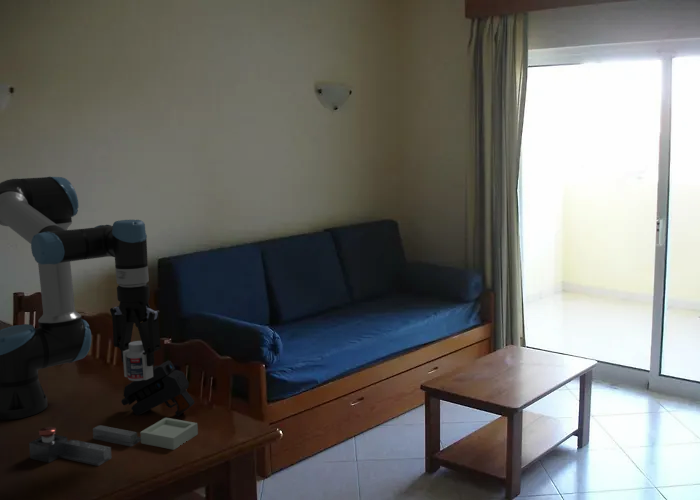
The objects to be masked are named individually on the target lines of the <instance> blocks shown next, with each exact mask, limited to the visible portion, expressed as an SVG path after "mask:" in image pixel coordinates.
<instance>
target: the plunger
mask: <svg viewBox="0 0 700 500" xmlns="http://www.w3.org/2000/svg"><path fill="white" fill-rule="evenodd" d="M56 433H57V428H56V427H55V426H47V427H42V428H40V429H39V430H38V435H39V436H40V437H42V443H46V444H49V443H51V442H53V441H55V438H54V434H55V435H56Z"/></svg>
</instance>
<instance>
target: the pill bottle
mask: <svg viewBox="0 0 700 500" xmlns="http://www.w3.org/2000/svg"><path fill="white" fill-rule="evenodd" d="M129 350H130V351H129V352H128V353H127V355H126V358H127V374H128V377H127V379H128V381H131V382H133V381H141V380H144V379H143V364H142V354H143V352H144V348H143V345H142V341H141V340H133V341H131V342H130V343H129Z"/></svg>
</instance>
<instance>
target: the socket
mask: <svg viewBox="0 0 700 500" xmlns="http://www.w3.org/2000/svg"><path fill="white" fill-rule="evenodd" d="M92 438H93V440H96V441H101V442H106V443H112V444H117V445H121V446H126V447H133V446H135V445H136V444H139V443H141V436H138V432H137V431H132V430H126V429H122V428H116V427H112V426H111V427H110V426H107V425H99V424H98V425H97V426H95V427H93V428H92ZM67 441H68V442H66V443H65V452H64V453H62V454H60V455H59V458H58V459H64V460H70V461H74V462H78V463H82V464H86V465H92V466H96V467H99V466H101V465H103V464H104V463H106V462H109V460H111V459H112V446H107V445H102V444H97V443H92V442H87V441H81V440H77V439H74V438H73V439H72V438H71V439H70V440H67Z"/></svg>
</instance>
